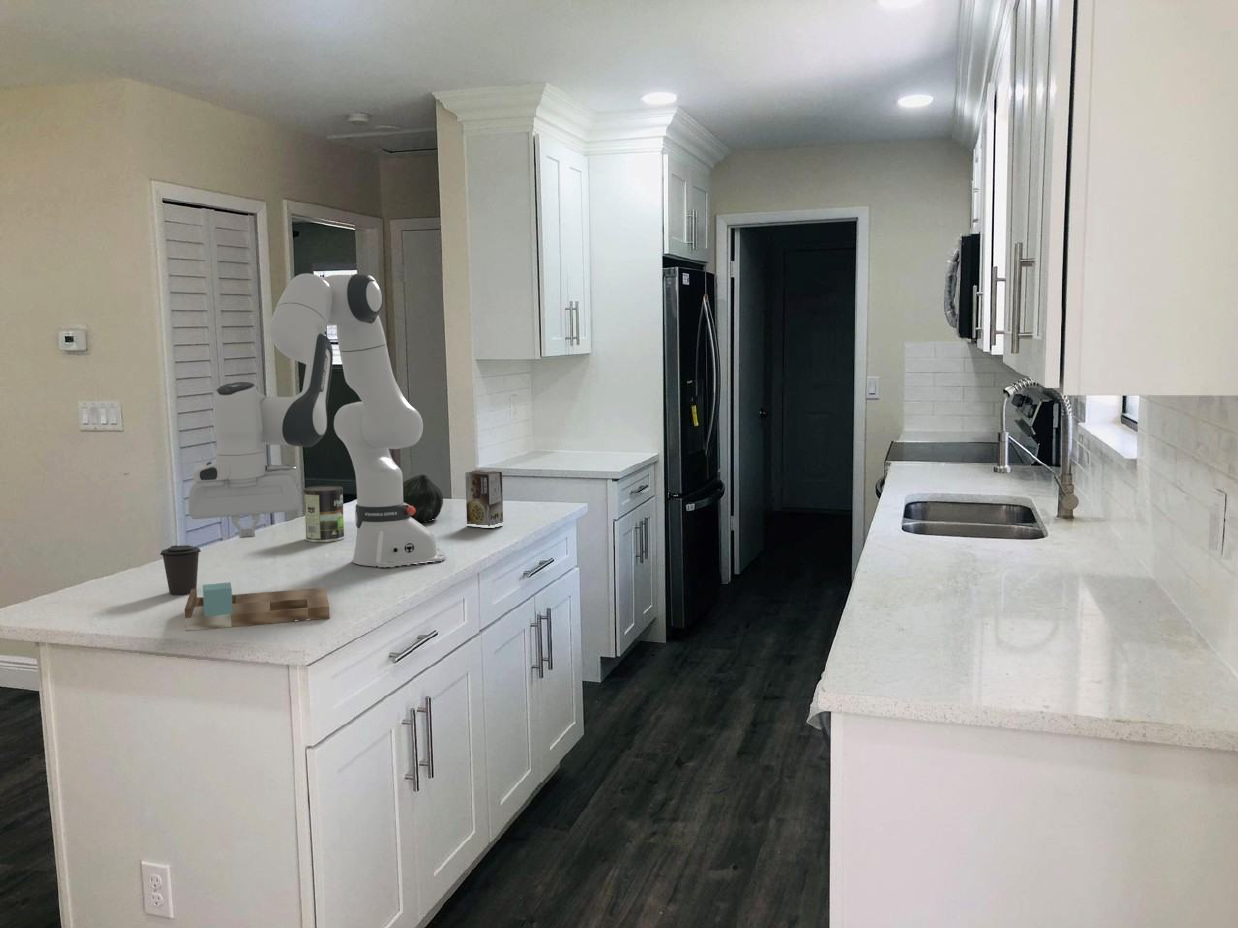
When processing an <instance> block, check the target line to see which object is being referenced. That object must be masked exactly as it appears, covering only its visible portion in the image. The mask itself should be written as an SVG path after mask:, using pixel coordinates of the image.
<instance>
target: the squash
mask: <svg viewBox="0 0 1238 928" xmlns="http://www.w3.org/2000/svg"><path fill="white" fill-rule="evenodd" d="M443 497H444V496H443V492H442V491H441V489H440V487H439V486H438V485H437V483H435V482H434V481H433V480H432V479H431V478H430V477H429V476H427V475H426V474H425V473H424V474H418V475H416V476H413V477H410V478H409V479H407V480H405V481H403V502H404V503H406V504H408V505H410V506H413V507H414V508H415V510H416V511H415V513H414V514H413V515H412V516H411V517H412V518H413V519H415V520H416V521H417V522H419V520H420V522H421V521H428V522H430V521H429V520H432V519H434V520H436V519H437V518H438V517H439V515H440V513H441V511H442V507H443V505H444V498H443ZM432 521H433V520H432Z"/></svg>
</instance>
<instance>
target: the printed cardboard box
mask: <svg viewBox="0 0 1238 928" xmlns="http://www.w3.org/2000/svg"><path fill="white" fill-rule="evenodd" d="M464 475H465V478H464V479H465V501H466V502H465V504H466V505H465V506H466V507H465V508H466V525H467V524H476V525H488V526H490V525H495V524H498V523H502V522H503V523H504V515H503V514H504V512H503V511H504V509H503V505H504V504H503V501H504V499H503V472H502V471H499V470H498V471H497V470H496V471H495V470H482V469H481V470H480V469H478V470H477V469H476V470H472V471H467V472H465V474H464Z"/></svg>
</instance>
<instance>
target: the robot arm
mask: <svg viewBox="0 0 1238 928" xmlns="http://www.w3.org/2000/svg"><path fill="white" fill-rule="evenodd" d="M383 295H384V294H383V292H382V288H381V286H380V284H379V282H378V281H377V280H376V279H375V277H373V276H371V275H368V274H363V273H355V274H333V275H328V276H322V277H321V276H319V275H316V274H312V273H300V274H298V275H296V276H294V277H293V278H292V279H290V282H289V283H288V284H287V286H286V288H285V289H284V291H283V292H282V294H281V296H280V298H279V300H278V301H277V304H276V307H275V309H274V311H273V314H272V317H271V320H270V323H269V330H268V331H269V337H270V340H271V341H272V344H273V345H274V347H275V348H276V349H277V350H278V351H279V352H280V353H281V354H282V355H284V356H285V357H287V358H289V359H292V360H293V361H295V362H296V361H297V362H299V363H302V364H304V365H305V372H304V377H303V385H302V391H301V392H300V393H299V394H295V395H293V396H266V395H264V394H262V393H260V392H258V388H257V386H256V384H254V383H252V382H249V381H239V382H237V381H236V382H232V383H227V384H223V385H221V386H219V387H218V388H216V390H215V393H214V395H213V396H214V397H213V405H212V410H213V411H212V413H213V414H212V415H213V416H212V418H213V432H214V434H215V437H216V441H217V443H216V445H217V446H216V449H215V456H216V459H214V460H212V461H208V462H206V463H203V464H201V465H199V466H196V467H195V468H194V469H193V471H192V478H193V480H194V481H193V482H192V483H191V487H190V488H189V493H188V494H189V495H188V516H189V517H190V518H192V519H193V520H200V519H201V520H202V519H203V520H204V519H214V518H216V519H217V518H224V517H225V518H227V517H231V523H232V524H233V525H234V526H235V528H236V529H237V530H238V538H239V539H245V538H256V530H255V529H256V528H257V526H258V523H259V522H260V519H261V517H260V516H261V515H262V514H263V515H265V514H274V513H275V514H276V513H288V512H296V511H297V510H298V508H299V507H300V501H299V493H298V489H297V486H298V484H299V483H300V475H299V473H300V472H299V470H298V469H297V468H296V467H295V466H292V465H290V464H288V463H287V464H286V463H285V464H282V465H281V464H279V465H278V464H272V465H267V464H266V453H265V452H266V451H265V445H270V446H272V445H273V446H292V447H293V446H294V447H301V448H303V447H304V448H312V447H313V446H315V445H316V444H317V443H318V442H320V441H321V439H322V438H323V437H324V436H325V434H326V433H327V430H328V419H329V418H328V402H329V396H330V387H331V386H330V385H331V380H332V379H331V378H332V371H333V363H334V361H333V360H334V351H333V346H332V345H333V344H332V343H331V340H330V339H329V338H328V337H327V336H326V330H327V327H328V326H329V327H330V326H331V327H332V326H336V336H337V344H338V350H339V356H340V360H341V361H340V362H341V364H342V365H341V366H342V369H343V376H344V380H345V383H346V384H347V385H348V386H349V388H350V389H352V390H353V391H354V392H355V394H356V395H358V397H359V400H361V401H355V402H351V403H347V404H344V405H343V406H341V407H340V408H339V409H338V410H337V412H336V414H335V415H334V419H333V429H334V431H335V434H336V436H337V437H338V438H339V439H340V441H342V442H343V444H344V446H345V447H346V449H347V451H348V453H349V456H350V459H351V461H352V466H353V469H354V474H355V475H354V476H355V483H356V484H355V485H356V503H357V504H355V510H354V515H355V516H354V517H355V519H354V521H355V527H356V539H355V548H354V553H353V557H352V560H351V562H352V563H353V564H355V565H356V564H357V565H359V566H366V567H367V566H369V567H376V566H378V567H377V568H380V567H390V568H396V567H395V566H399V567H402V566H401V565H407V566H409V565H408V564H414V563H420V562H426V561H441V560H443V559H444V558H445V557H446V553H445V551H443V550H442V549H440V548H437V544H436V543H437V542H436V538H435V536H434V533H433V532H432V531H431V530H430V529H428V528H427V527H425V526H424V525H423V524H422V523H420V522H419V521H416V520H415V519H413V518H412V517H411V516H412V515H413V514H414V513H415V511H416V510H415V508H414V507H413V506H410V505H408V504H406V503H404V502H403V482H404V481H403V479H404V478H403V472H402V470H401V468H400V467H399V466H398V465H397V464H396V462H394V459H393V458H392V455H391V453H390V450H389V449H391V450H399V449H404V448H409V447H412V446H414V445H416V444H417V443H418V442H419V441H420V439H421V437H422V435H423V430H424V422H423V418H422V415H421V414H420V412H419V411H418V410H417V409H416V408H414V407H413V406H412V405H411V404H410V403H409V401H408V400H407V399H406V398H405V396H404V395H403V392H402V391H401V389H400V387H399V385H398V383H397V381H396V378H395V376H394V374H393V373H394V372H393V370H392V364H391V360H390V356H389V350H388V349H389V348H388V345H387V339H386V336H385V332H384V331H385V330H384V328H383V324H382V321H381V318H380V316H379V315H380V312H381V311H382V308H383V303H384V297H383ZM241 516H251V521H253V522H252V523H251V526H249V527H247V526H246V527H243V526H242V525H241V523H240V517H241ZM445 559H446V558H445ZM443 561H444V560H443ZM441 562H442V561H441Z"/></svg>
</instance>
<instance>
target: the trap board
mask: <svg viewBox="0 0 1238 928" xmlns="http://www.w3.org/2000/svg"><path fill="white" fill-rule="evenodd" d="M232 608H233V614H226V615H216V616H206V617H204V601H203V596H198V590H197V588H196V589H191V592H190V594H188V598H187V601H186V604H185V608H184V617H185V618H184V619H185V631H186V632H187V631H188V632H189V631H200V630H210V629H223V628H234V627H247V626H257V625H269V624H268V623H272V624H277V623H276V622H284V623H287V622H286V621H295V620H306V619H318V620H329V619H331V618H330V617H331V616H330V615H331V614H330V603H329V598H328V593H327V588H326V587H315V588H304V589H303V588H302V589H289V590H276V591H266V592H263V591H262V592H251V593H237V594H232ZM295 622H296V621H295Z"/></svg>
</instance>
